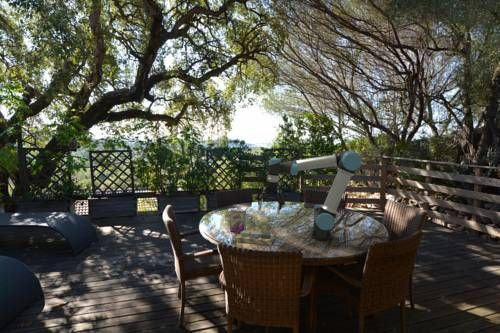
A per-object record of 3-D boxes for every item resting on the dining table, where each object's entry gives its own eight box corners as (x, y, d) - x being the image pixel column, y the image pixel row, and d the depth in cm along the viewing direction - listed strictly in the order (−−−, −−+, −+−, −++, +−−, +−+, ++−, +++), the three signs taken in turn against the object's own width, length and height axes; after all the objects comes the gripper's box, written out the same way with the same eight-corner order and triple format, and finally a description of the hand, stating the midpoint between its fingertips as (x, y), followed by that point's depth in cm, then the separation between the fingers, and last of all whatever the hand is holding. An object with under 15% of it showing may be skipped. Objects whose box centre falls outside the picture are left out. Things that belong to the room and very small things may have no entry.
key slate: (260, 235, 215) (260, 231, 215) (258, 238, 210) (258, 234, 210) (252, 235, 217) (253, 231, 216) (250, 237, 211) (250, 233, 211)
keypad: (274, 238, 217) (275, 234, 217) (270, 245, 204) (270, 240, 203) (241, 235, 223) (241, 230, 223) (235, 241, 210) (235, 237, 210)
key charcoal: (270, 236, 213) (270, 232, 213) (268, 239, 208) (268, 235, 208) (262, 236, 215) (262, 232, 214) (260, 238, 210) (261, 234, 209)
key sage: (250, 234, 217) (250, 231, 217) (248, 237, 212) (248, 233, 211) (243, 234, 218) (243, 230, 218) (241, 236, 213) (241, 232, 213)
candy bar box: (229, 231, 231) (230, 210, 229) (232, 229, 236) (232, 208, 234) (244, 233, 227) (244, 211, 225) (246, 231, 232) (246, 210, 230)
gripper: (253, 178, 210) (249, 209, 212) (288, 185, 199) (284, 217, 202) (258, 177, 217) (254, 207, 219) (292, 183, 206) (288, 215, 208)
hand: (268, 212), depth 210 cm, fingers open, 13 cm apart
